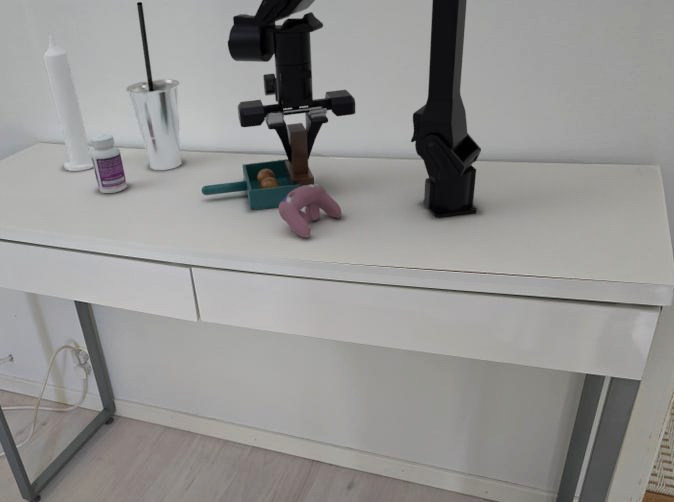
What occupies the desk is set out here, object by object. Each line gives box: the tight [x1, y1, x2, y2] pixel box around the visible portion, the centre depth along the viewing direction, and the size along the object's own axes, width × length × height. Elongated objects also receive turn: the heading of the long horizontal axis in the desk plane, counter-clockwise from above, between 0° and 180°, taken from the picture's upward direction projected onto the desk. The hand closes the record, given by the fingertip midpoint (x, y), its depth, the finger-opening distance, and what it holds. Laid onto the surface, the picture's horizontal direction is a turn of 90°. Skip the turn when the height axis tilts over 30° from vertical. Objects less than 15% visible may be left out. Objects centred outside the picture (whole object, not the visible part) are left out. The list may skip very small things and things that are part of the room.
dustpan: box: [201, 158, 300, 211], centre depth 115 cm, size 16×14×3 cm
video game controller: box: [278, 183, 342, 239], centre depth 102 cm, size 10×5×7 cm, turn 141°
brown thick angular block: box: [285, 122, 315, 187], centre depth 113 cm, size 4×10×10 cm, turn 6°
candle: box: [42, 34, 94, 172], centre depth 132 cm, size 7×7×25 cm
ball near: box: [260, 177, 279, 189], centre depth 113 cm, size 3×3×3 cm
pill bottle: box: [90, 133, 128, 194], centre depth 123 cm, size 5×5×10 cm
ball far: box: [257, 169, 275, 185], centre depth 117 cm, size 3×3×3 cm
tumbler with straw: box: [125, 1, 183, 171], centre depth 126 cm, size 11×11×30 cm
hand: (298, 160), depth 114 cm, fingers closed on brown thick angular block, 2 cm apart
